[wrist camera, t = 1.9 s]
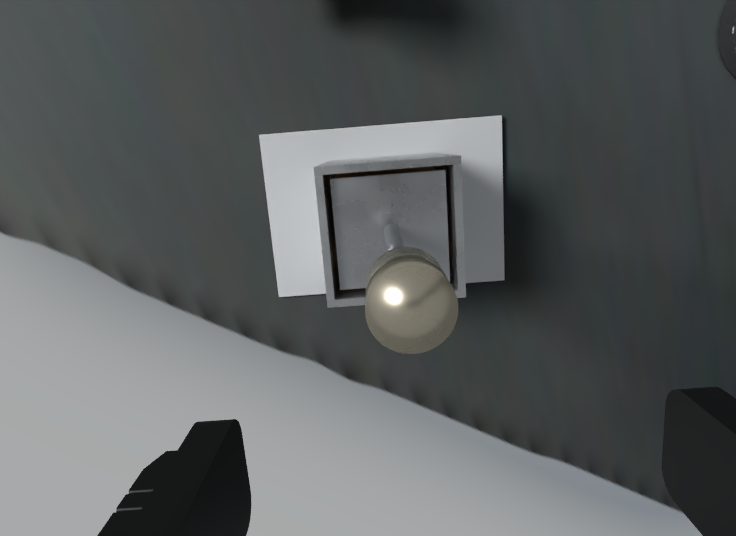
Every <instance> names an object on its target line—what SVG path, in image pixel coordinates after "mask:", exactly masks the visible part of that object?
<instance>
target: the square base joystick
mask: <svg viewBox="0 0 736 536" xmlns="http://www.w3.org/2000/svg"><path fill="white" fill-rule="evenodd" d="M431 170H445V172H446V196H447V220H448V244H449V268H450V284H451V286H452V287H453V289H454V291H455V294H456V296H457V298H464V297H466V280H465V251H464V222H463V193H462V164H461V155H454V154H447V153H440V152H429V153H416V154H404V155H391V156H379V157H366V158H353V159H341V160H328V161H326V162H324V163H322V164H320V165H317V166H315V167H314V177H315V187H316V197H317V207H318V217H319V227H320V237H321V246H322V256H323V266H324V276H325V286H326V296H327V306H328V308H330V307H343V306H356V305H365V297H366V288H359V289H345V290H340V281H339V271H338V260H337V249H336V239H335V228H334V217H333V207H332V196H331V185H330V179H331V178H343V177H355V176H368V175H381V174H393V173H406V172H419V171H431Z"/></svg>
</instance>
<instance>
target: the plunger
mask: <svg viewBox="0 0 736 536" xmlns="http://www.w3.org/2000/svg"><path fill="white" fill-rule="evenodd" d="M330 185H331V196H332V207H333V217H334V228H335V239H336V249H337V260H338V271H339V281H340V290H345V289H359V288H366V297H365V315H366V320H367V324H368V327H369V329H370V331H371V332H372V334H373V335H374V337H375V338H376V339H377V340H378V341H379V342H380V343H381V344H382V345H384V346H385V347H387V348H389V349H391V350H393V351H396V352H399V353H405V354H417V353H422V352H426V351H429V350H431V349H433V348H435V347H437V346H438V345H440V344H441V343H442V342H443V341H444V340H446V339H447V337H448V336H449V335H450V333H451V332H452V330H453V328H454V326H455V324H456V321H457V317H458V300H457V296H456V294H455V291H454V289H453V287H452V286H451V284H450V268H449V244H448V220H447V196H446V172H445V170H431V171H419V172H406V173H393V174H381V175H368V176H355V177H343V178H331V179H330Z"/></svg>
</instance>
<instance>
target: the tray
mask: <svg viewBox="0 0 736 536" xmlns="http://www.w3.org/2000/svg"><path fill="white" fill-rule="evenodd" d="M259 139H260V147H261V155H262V163H263V171H264V179H265V187H266V196H267V204H268V212H269V220H270V228H271V236H272V244H273V252H274V260H275V269H276V277H277V285H278V293H279V297H287V296H301V295H314V294H326V286H325V276H324V266H323V256H322V246H321V237H320V227H319V217H318V207H317V197H316V187H315V177H314V167H315V166H317V165H320V164H322V163H324V162H326V161H328V160H341V159H353V158H366V157H379V156H391V155H404V154H416V153H429V152H440V153H447V154H454V155H461V164H462V193H463V222H464V251H465V280H466V283H475V282H488V281H502V280H505V277H504V215H503V154H502V115H500V116H488V117H475V118H463V119H451V120H438V121H426V122H413V123H401V124H389V125H376V126H364V127H351V128H339V129H326V130H314V131H302V132H289V133H277V134H264V135H259Z"/></svg>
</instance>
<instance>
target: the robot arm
mask: <svg viewBox="0 0 736 536" xmlns="http://www.w3.org/2000/svg"><path fill="white" fill-rule="evenodd" d="M718 35H719V49H720V53H721V57H722V59H723V61H724V63H725V65H726V67H727V69H728V70H729V71H730V72H731V74H732V75H733V76H734V77H735V78H736V0H729V2H728V3H727V5H726V7H725V10H724V12H723V15H722V18H721V21H720V27H719V33H718ZM662 473H663V478H664V482H665V485H666V487H667V490H668V492H669V494H670V496H671V498H672V499H673V501H674V502H675V503H676V504H677V506H678V507H679V508H680V509H681V510H682V511H683V513H684V514H685V515H686V516H687V517H688V518H689V520H690V521H691V522H692V523H693V524H694V525H695V527H696V528H697V529H698V530H699V531H700V533H701V534H702V535H703V536H736V399H735V398H734V397H732V396H731V395H730V394H728V393H727V392H725V391H724V390H722V389H721V388H718V387H706V388H691V389H677V390H672V391H671V392H670V393H669V394H668V396H667V399H666V405H665V421H664V437H663V452H662ZM250 515H251V491H250V484H249V477H248V471H247V465H246V459H245V451H244V445H243V438H242V432H241V427H240V424H239V422H238V421H237V420H236V419H233V420H219V421H204V422H196V423H195V424H194V425H193V427H192V428H191V430H190V431H189V433H188V435H187V436H186V438H185V439H184V441H183V443H182V444H181V446H180V448H179V449H178V451H166V452H165V453H164V454H162V455H161V456H160V457H159V458H157V459H156V460H155V461H153V462H152V463H151V464H150V465H148V466H147V467H146V468H145V469H143V471H142V472H141V473H140V475H139V477H138V478H137V479H136V481H135V482H134V484H133V485H132V487H131V488H130V490H129V494H127V495H125V497H124V498H123V500H122V501H121V503H120V504H119V505H118V507H117V511H116V513H113V514H112V516H111V517H110V518H109V520H108V521H107V523H106V524H105V526H104V527H103V529H102V530H101V532H100V533H99V534H98V536H246V534H247V531H248V527H249V522H250Z"/></svg>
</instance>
